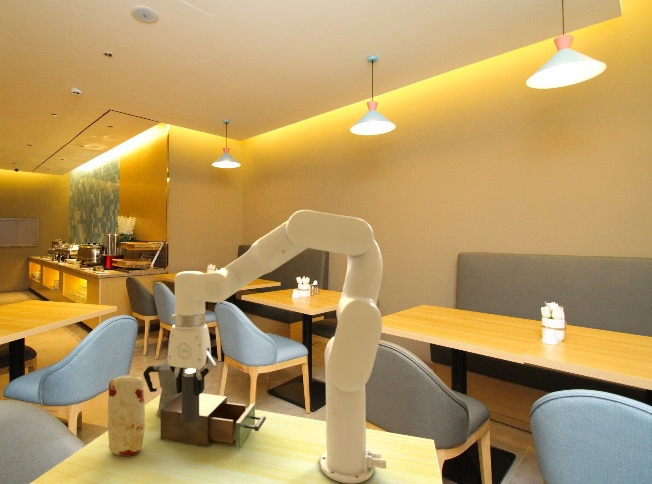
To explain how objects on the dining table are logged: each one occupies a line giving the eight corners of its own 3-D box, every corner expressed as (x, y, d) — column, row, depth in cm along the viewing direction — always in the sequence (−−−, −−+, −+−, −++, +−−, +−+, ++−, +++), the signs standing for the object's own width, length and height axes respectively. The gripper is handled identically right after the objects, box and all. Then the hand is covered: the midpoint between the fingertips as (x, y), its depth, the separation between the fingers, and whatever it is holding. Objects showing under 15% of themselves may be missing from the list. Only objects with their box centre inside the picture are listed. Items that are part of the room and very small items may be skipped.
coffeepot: (190, 401, 122) (190, 349, 122) (195, 413, 113) (195, 357, 114) (142, 410, 116) (142, 355, 116) (144, 424, 107) (144, 364, 107)
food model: (102, 459, 90) (101, 380, 90) (116, 444, 96) (116, 370, 97) (139, 460, 89) (138, 381, 89) (150, 445, 96) (150, 371, 96)
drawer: (269, 427, 102) (268, 405, 103) (255, 450, 92) (255, 425, 92) (213, 419, 107) (213, 398, 108) (194, 440, 97) (194, 416, 97)
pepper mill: (193, 424, 87) (193, 374, 87) (177, 421, 88) (177, 373, 88) (202, 415, 91) (202, 368, 91) (187, 413, 92) (187, 367, 92)
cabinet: (227, 423, 107) (227, 396, 107) (207, 446, 95) (207, 416, 95) (184, 417, 111) (184, 391, 111) (160, 439, 99) (160, 409, 99)
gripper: (152, 321, 89) (152, 395, 88) (213, 325, 84) (213, 403, 84) (169, 315, 96) (169, 383, 95) (226, 318, 91) (227, 390, 91)
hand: (190, 391), depth 89 cm, fingers closed on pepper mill, 4 cm apart
